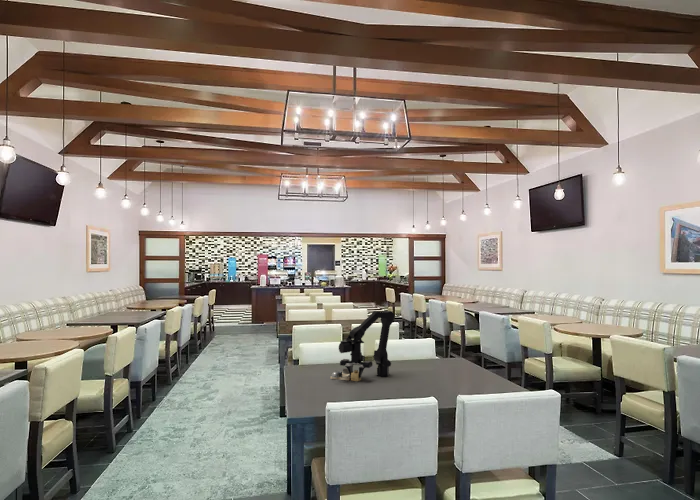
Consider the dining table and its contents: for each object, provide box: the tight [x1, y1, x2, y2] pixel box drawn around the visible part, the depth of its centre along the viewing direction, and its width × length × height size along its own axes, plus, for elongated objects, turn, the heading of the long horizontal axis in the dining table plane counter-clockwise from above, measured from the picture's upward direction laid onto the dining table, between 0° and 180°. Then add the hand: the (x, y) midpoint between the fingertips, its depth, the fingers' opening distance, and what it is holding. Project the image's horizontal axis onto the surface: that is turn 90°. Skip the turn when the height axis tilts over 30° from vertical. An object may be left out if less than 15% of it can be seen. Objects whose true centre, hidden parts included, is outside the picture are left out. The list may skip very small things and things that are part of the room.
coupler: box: [350, 369, 362, 382], centre depth 251 cm, size 4×4×6 cm
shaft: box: [330, 370, 343, 378], centre depth 255 cm, size 6×5×3 cm
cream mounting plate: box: [329, 367, 351, 381], centre depth 260 cm, size 12×16×4 cm
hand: (356, 378), depth 251 cm, fingers open, 5 cm apart
